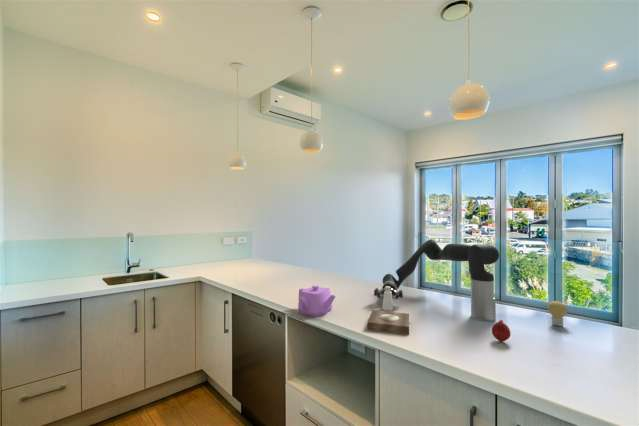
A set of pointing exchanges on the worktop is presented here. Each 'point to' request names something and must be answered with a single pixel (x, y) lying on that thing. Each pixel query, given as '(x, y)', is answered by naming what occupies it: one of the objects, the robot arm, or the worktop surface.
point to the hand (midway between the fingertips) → (387, 296)
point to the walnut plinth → (389, 322)
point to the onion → (501, 331)
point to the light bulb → (557, 312)
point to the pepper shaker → (387, 299)
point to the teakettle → (315, 301)
